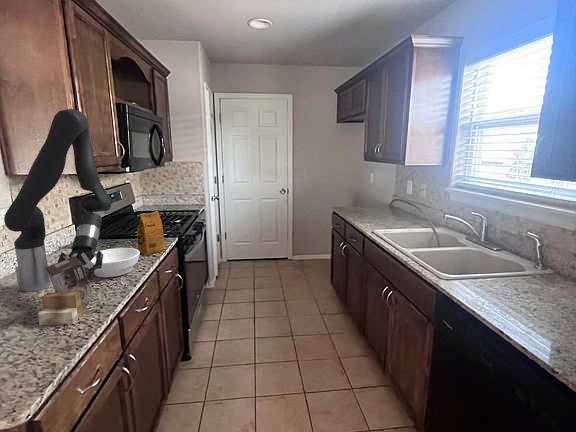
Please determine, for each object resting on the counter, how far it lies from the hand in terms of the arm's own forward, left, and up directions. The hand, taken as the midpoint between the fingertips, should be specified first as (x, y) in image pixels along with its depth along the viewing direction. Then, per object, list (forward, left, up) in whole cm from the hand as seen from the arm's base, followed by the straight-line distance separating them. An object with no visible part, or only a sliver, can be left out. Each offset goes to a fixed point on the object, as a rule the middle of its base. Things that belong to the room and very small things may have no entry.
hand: (75, 280), depth 113 cm
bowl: (-1, +34, -10) cm, 35 cm away
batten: (-1, -11, -10) cm, 15 cm away
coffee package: (+6, +64, -10) cm, 65 cm away
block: (-1, -7, -10) cm, 12 cm away
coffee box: (-1, +1, -9) cm, 9 cm away
